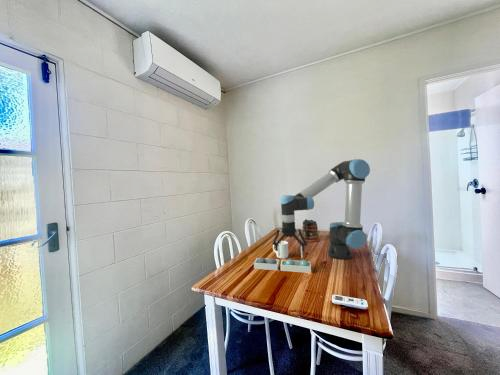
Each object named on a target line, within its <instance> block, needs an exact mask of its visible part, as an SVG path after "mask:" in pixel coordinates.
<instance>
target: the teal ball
mask: <svg viewBox="0 0 500 375" xmlns="http://www.w3.org/2000/svg"><path fill="white" fill-rule="evenodd" d="M285 260H286V262H285V265H294V261H293V259H292V258H288V259H287V258H286V259H285Z"/></svg>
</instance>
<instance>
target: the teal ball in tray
mask: <svg viewBox="0 0 500 375" xmlns="http://www.w3.org/2000/svg"><path fill="white" fill-rule="evenodd" d="M299 261H300V264H299V265H300V266H309V263H308V261H307V259H301V260H299Z"/></svg>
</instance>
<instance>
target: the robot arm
mask: <svg viewBox="0 0 500 375" xmlns="http://www.w3.org/2000/svg"><path fill="white" fill-rule="evenodd" d="M370 172H371V167H370V165H369V163H368V162H367V161H366V160H364V159H360V158H358V159H356V158H355V159H351V160H345V161H342V162H339V163H338V164H337V165H335V166H333V168H331V169H330V170H328V172H327V173H326V174H325V175H324V176H321V177H320V178H319V179H317V180H316V181H314V182H313V183H312V184H310V185H309V186H307V187H305V188H304V189H302V190H301V191H300V192H299V193H297V194H296V195H293V194H292V195H291V194H286V195H282V196H280V197H281V198H280V206H281V207H280V208H281V209H280V210H281V222H282V223H281V227H282V229H280V228H277V230H276V235H275V237H274V239H273V242H272V246H273V245H274V247H275V251H278V257H279V256H280V250H279V245H278V244H279V243H280V242H281V241H283V239H284V238H294V239H295V241H297V242H298V243H299V244H300V257H301V259H303V256H304V255H303V253H304V252H305V247H306V246H308V242H307V241H306V240H305V239H304V237H303V235H302V229H301V228H298V229H296V222H295V220H296V219H295V218H296V217H295V214H296V213H295V212H296V211H310V210H313V209H314V208H315V200H314V197H315V196H317V195H318V194H320V193H321V192H323V191H324V190H326V189H327V188H329V187H330V186H332V185H333V184H334V183H338V182H340V181H342V180H343V182H344V183H345V184H346V187H345V189H346V190H345V210H344V221H336V222H335V221H334V222H331V223H329V246H328V249H327V255H328V257H330V258H332V259H335V260H349V259H352V258H353V257H352V256H353V254H352V251H351V248H352V249H355V250H356V249H361V248H362V247H363V246H365V245H366V242H367V234H366V233H365V231H364V230H363V229H364V226H363V225H362V223H361V214H362V196H363V195H362V192H363V191H362V190H363V184H364V183H365V182H366V178H367V177H368V176H369V175H370V174H371V173H370ZM281 233H282V235H281V236H280V237H279V235H280V234H281ZM296 233H297V234H298V235H299V237H300V238H299V237H298V236H297V234H296ZM278 237H279V239H278ZM277 239H278V240H277ZM276 242H277V243H276ZM278 257H277V258H278Z"/></svg>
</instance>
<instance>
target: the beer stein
mask: <svg viewBox="0 0 500 375" xmlns="http://www.w3.org/2000/svg"><path fill="white" fill-rule="evenodd" d="M301 230H302V231H301V233H302V235H303V237H304V239H305V240H306V242H307V243H309V242H310V243H316V242H319V241H320V240H319V238H320V237H319V232H318V224H317V221H315V220H314V219H306V218H305V219H304V220H303V221H302V229H301Z"/></svg>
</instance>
